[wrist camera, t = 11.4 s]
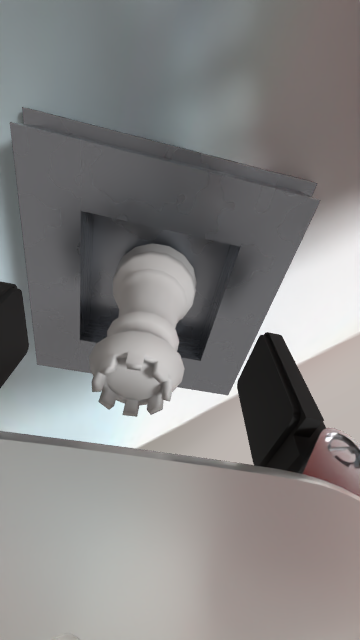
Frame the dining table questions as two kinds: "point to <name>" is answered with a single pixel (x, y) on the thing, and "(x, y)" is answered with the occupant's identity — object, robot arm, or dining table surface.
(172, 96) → the dining table surface
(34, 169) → the holder
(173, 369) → the rook chess piece
